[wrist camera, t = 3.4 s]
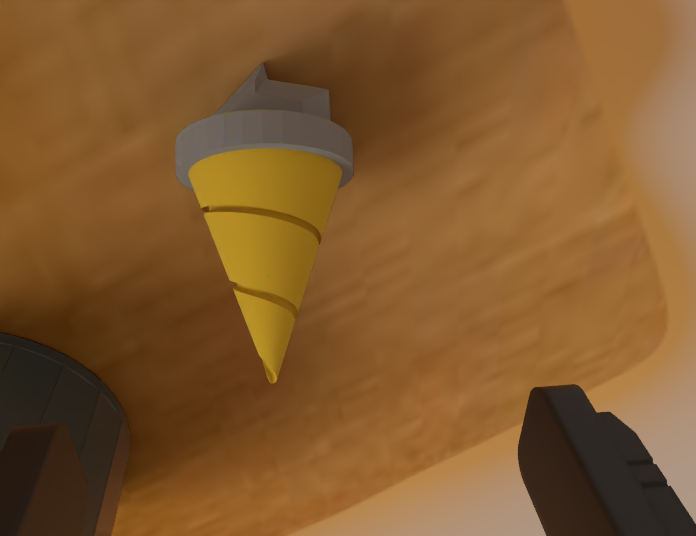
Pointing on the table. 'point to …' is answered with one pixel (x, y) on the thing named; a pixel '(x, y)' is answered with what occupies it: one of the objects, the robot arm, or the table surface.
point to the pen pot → (68, 418)
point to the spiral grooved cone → (267, 196)
